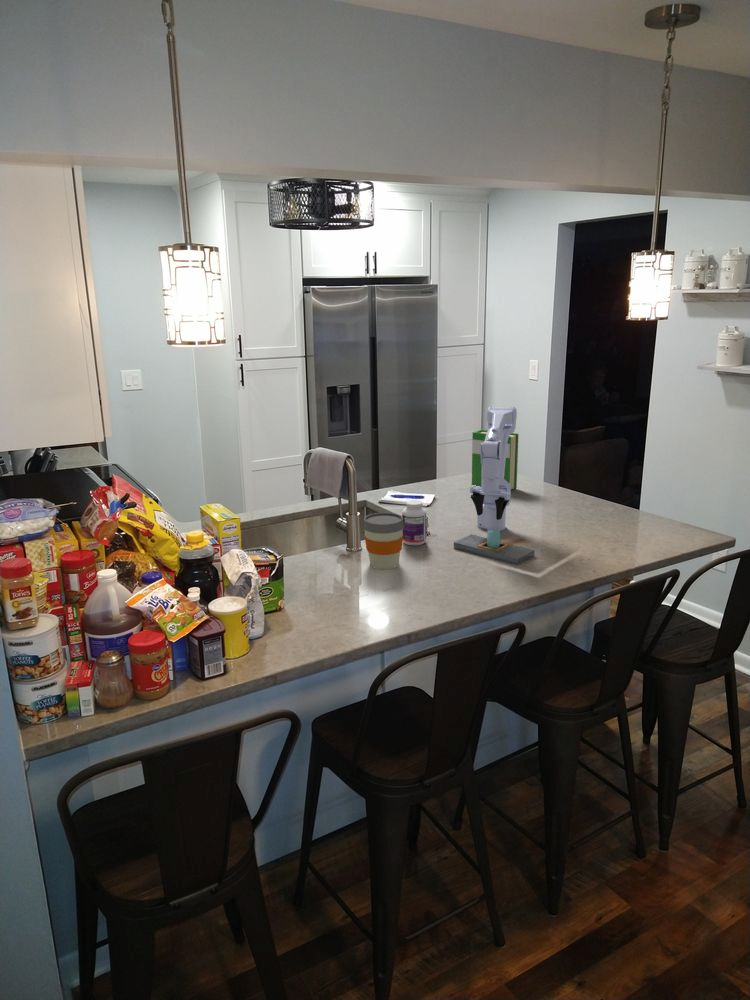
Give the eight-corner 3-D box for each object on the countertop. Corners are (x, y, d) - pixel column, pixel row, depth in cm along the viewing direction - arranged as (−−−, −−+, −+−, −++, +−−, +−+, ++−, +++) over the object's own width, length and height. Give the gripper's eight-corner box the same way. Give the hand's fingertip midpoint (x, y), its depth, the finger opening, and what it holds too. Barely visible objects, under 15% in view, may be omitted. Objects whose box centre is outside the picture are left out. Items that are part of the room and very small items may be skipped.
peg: (484, 555, 229) (484, 531, 226) (491, 551, 232) (491, 528, 229) (494, 557, 226) (495, 534, 224) (501, 554, 229) (502, 530, 227)
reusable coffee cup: (370, 573, 216) (369, 526, 212) (360, 559, 228) (358, 514, 223) (409, 568, 219) (409, 522, 215) (397, 554, 231) (396, 510, 226)
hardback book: (516, 489, 303) (518, 433, 296) (508, 493, 297) (510, 436, 291) (480, 483, 313) (481, 429, 307) (471, 487, 308) (472, 432, 301)
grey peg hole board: (453, 550, 233) (453, 541, 232) (471, 542, 240) (471, 533, 239) (517, 568, 217) (517, 557, 217) (534, 558, 225) (534, 549, 224)
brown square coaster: (497, 544, 238) (498, 541, 237) (510, 538, 243) (510, 535, 243) (518, 549, 233) (518, 547, 232) (531, 543, 238) (531, 540, 238)
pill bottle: (409, 537, 247) (409, 497, 243) (430, 541, 243) (430, 500, 239) (398, 544, 240) (397, 503, 236) (419, 548, 236) (419, 506, 232)
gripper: (465, 476, 234) (464, 515, 238) (502, 483, 225) (501, 524, 229) (477, 472, 239) (476, 510, 243) (514, 478, 230) (513, 518, 234)
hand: (489, 516), depth 236 cm, fingers open, 7 cm apart
